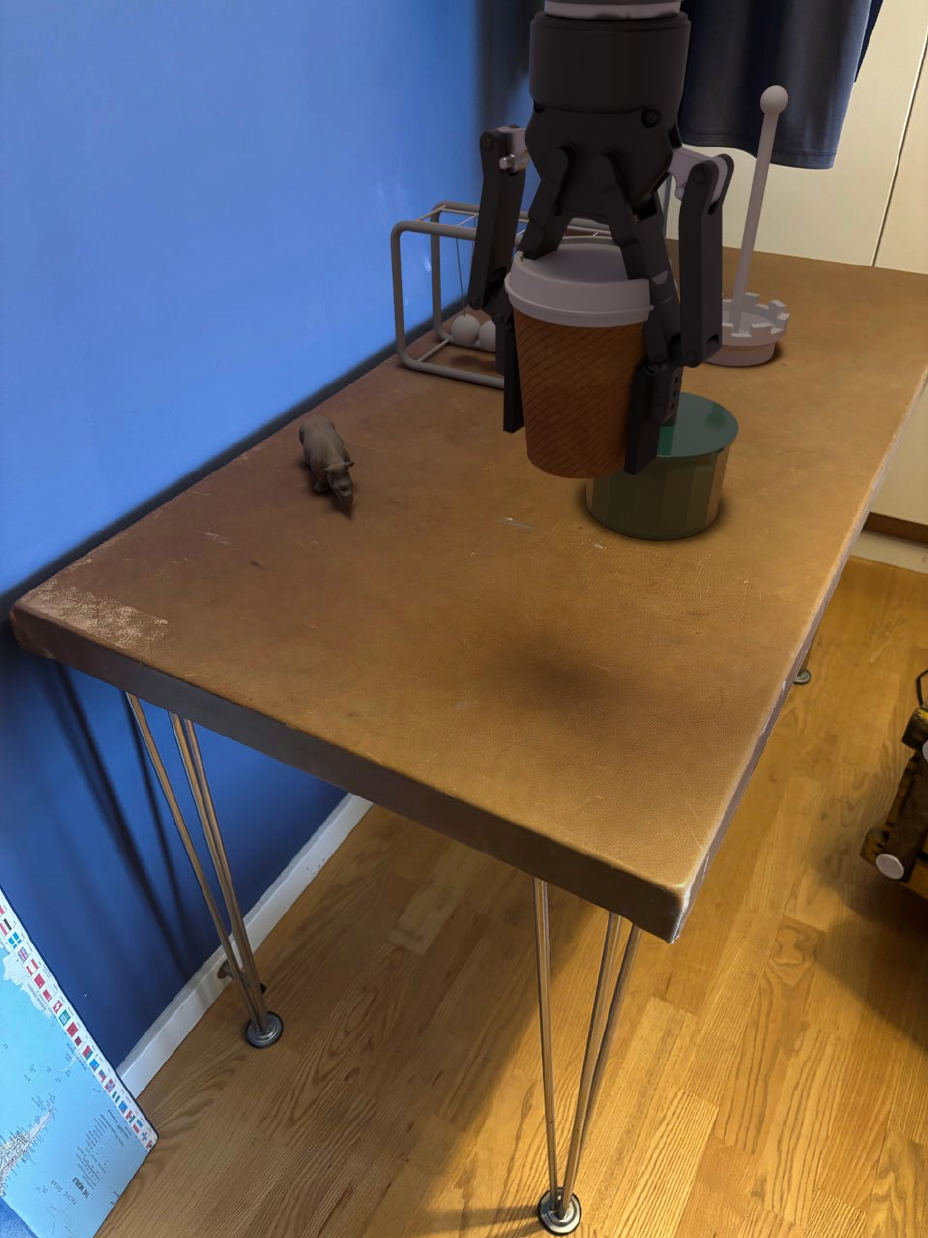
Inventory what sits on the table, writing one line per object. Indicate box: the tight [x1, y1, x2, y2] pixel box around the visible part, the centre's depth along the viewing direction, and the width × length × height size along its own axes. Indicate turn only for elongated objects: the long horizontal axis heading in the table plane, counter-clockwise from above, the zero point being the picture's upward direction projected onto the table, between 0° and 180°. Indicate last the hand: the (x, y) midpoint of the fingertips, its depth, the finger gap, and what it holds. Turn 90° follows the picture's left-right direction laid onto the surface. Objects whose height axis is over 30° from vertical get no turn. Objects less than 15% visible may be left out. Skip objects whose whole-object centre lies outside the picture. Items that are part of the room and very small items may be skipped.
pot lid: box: [654, 381, 740, 461], centre depth 83 cm, size 14×14×5 cm
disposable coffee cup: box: [504, 236, 678, 480], centre depth 54 cm, size 10×10×12 cm
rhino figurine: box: [298, 413, 355, 507], centre depth 90 cm, size 4×14×6 cm, turn 21°
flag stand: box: [705, 85, 791, 367], centre depth 109 cm, size 13×13×30 cm
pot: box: [585, 446, 731, 541], centre depth 87 cm, size 13×13×8 cm
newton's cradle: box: [389, 200, 611, 390], centre depth 108 cm, size 30×10×18 cm, turn 62°
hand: (577, 443), depth 57 cm, fingers closed on disposable coffee cup, 8 cm apart
